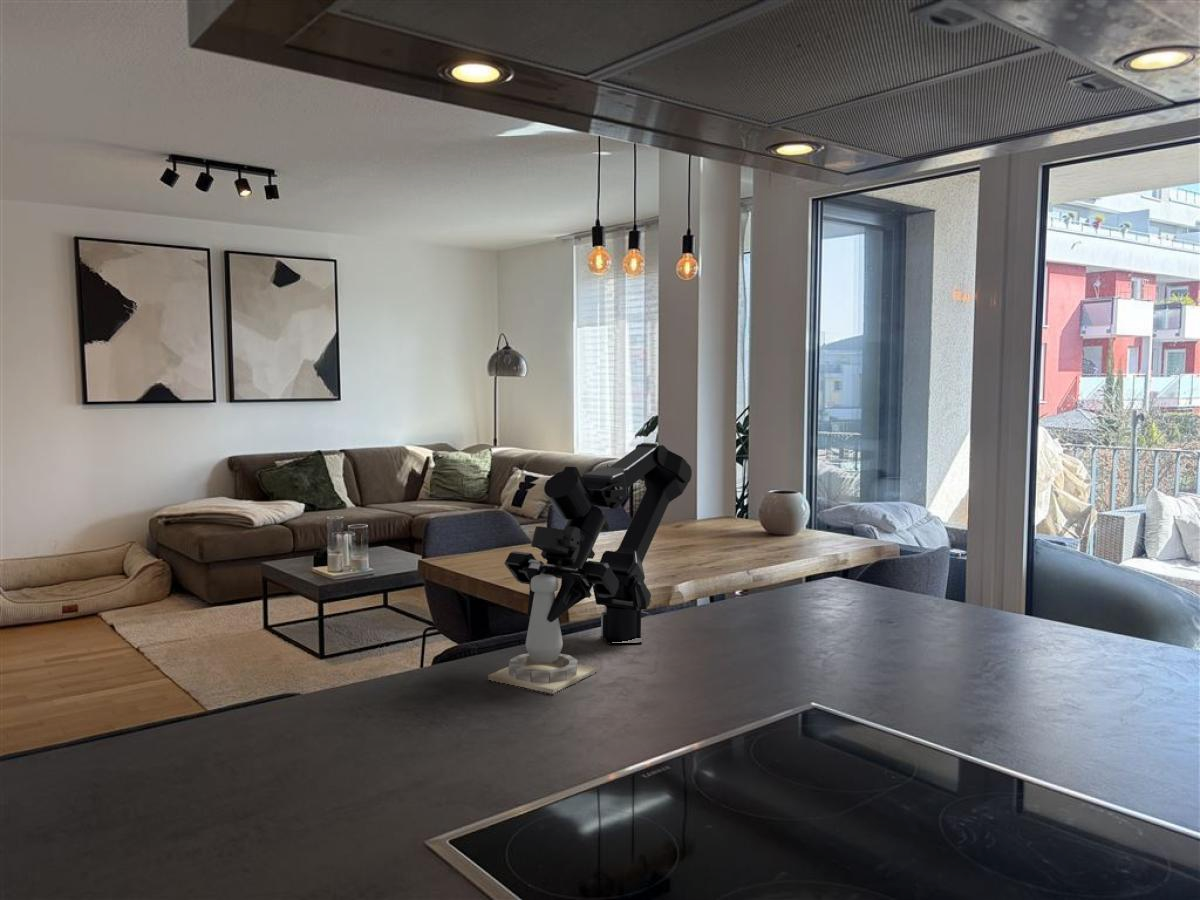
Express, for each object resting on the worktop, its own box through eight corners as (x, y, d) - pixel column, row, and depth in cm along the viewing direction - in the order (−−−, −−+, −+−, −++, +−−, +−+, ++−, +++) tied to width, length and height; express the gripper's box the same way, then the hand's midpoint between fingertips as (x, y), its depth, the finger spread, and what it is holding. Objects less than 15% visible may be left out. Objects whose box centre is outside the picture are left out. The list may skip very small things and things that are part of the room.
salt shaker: (520, 663, 133) (520, 578, 132) (530, 651, 138) (530, 571, 137) (558, 665, 132) (558, 580, 131) (566, 654, 137) (566, 572, 136)
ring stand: (534, 660, 143) (534, 646, 143) (596, 673, 137) (596, 658, 137) (488, 680, 133) (488, 665, 133) (553, 695, 127) (553, 679, 127)
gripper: (511, 502, 142) (467, 582, 133) (609, 511, 132) (569, 598, 123) (539, 542, 149) (499, 621, 140) (634, 554, 139) (598, 638, 131)
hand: (539, 619), depth 133 cm, fingers closed on salt shaker, 3 cm apart
